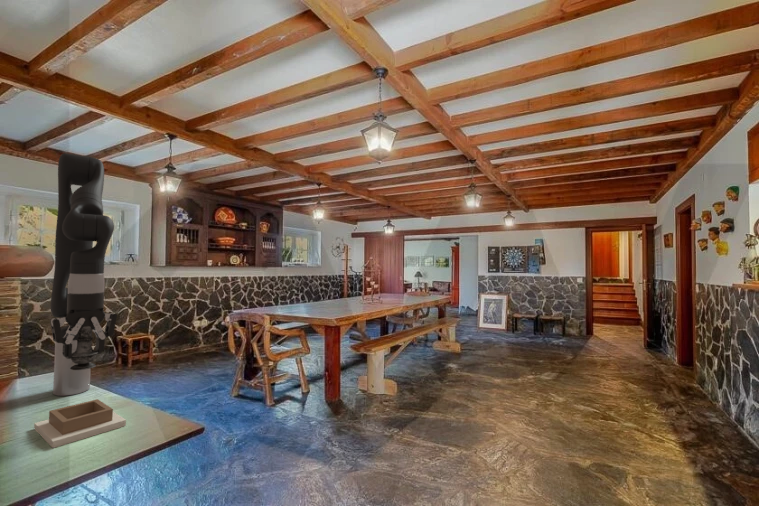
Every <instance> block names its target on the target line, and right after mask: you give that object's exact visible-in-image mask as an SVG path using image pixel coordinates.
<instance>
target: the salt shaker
mask: <svg viewBox="0 0 759 506" xmlns="http://www.w3.org/2000/svg"><path fill="white" fill-rule="evenodd" d="M93 339H94V337H93V330H91V327H90V326H85V327H83V328H82V331H78V338H77V339H76V340H77V348H76V351H75V352H73V353H72V358H71V360H72V362H74V363H75V364H76V365H73V366H72V367H71V368H70V369H71V370H85V369H90V368H91V369H93V368H95V367H96V366H97V364H95V363H94V362H93V361H94V360H95V359H96V357H97V355H98V354H97V353H98V351H96V349H95V350H94V349H93V347H92V344H93V343H92V342H93ZM90 362H91V363H90Z"/></svg>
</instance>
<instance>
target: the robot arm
mask: <svg viewBox="0 0 759 506" xmlns="http://www.w3.org/2000/svg"><path fill="white" fill-rule="evenodd" d="M104 183H105V167H104V164H103V162H102V160H100V159H99V158H96V157H92V156H86V155H79V154H73V153H67V152H65V153H62V154H61V155H60V157H58V164H57V189H58V191H57V192H58V194H57V195H58V196H57V197H58V199H57V218H56V228H55V239H54V240H55V241H54V242H55V243H54V244H55V245H54V248H55V249H54V253H55V254H54V272H53V273H54V274H53V281H52V288H51V296H50V313H51V315H52V317H53V318H51V319H50V320H49V323H50V327H51V334H52V340H53V341H54V365H53V386H52V387H53V388H52V389H53V390H52V394H53V395H54V396H59V397H60V396H61V397H62V396H73V395H78V394H81V393H84V392H87V391H89V390H90V387H91V369H92V368H90V369H85V370H71V369H70V368H71V367H72V366H73V365H76V364H75V363H74V362H72V360H71V358H72V353H73V352H75V351H76V348H77V340H76V339H77V338H78V331H82V328H83V327H85V326H90V327H91V330H92V332H93V333H94V334H95V336H96V338H95V351H98V353H97V354H96V355H100V354H102V352H104V351H105V340H106V338H108V337H112V336H114V331H115V329H116V323H117V318H118V314H117V313H114V312H110V313H106V312H105V311H104V304H105V290H106V286H105V282H106V281H105V274H104V273H105V257H106V252H107V249H108V246H109V243H110V241H111V238H112V236H113V233H114V231H115V224H114V220H113V219H111V217H109V216H108V215H104V205H103V197H102V196H103V193H104V186H105V185H104ZM72 186H80V187H78V188H77V189H75V190H74V192H73V191H72ZM94 242H96V243H95V245H94ZM93 245H94V246H93ZM104 319H105V321H106V325H105V330H104V331H103V328H102V326H101V325H100V324H101V322H102V321H103V320H104ZM64 322H66V323H67V324H68V325H65V326H63V325H64ZM90 363H92V362H90ZM88 384H89V385H88Z"/></svg>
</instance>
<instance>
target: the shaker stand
mask: <svg viewBox="0 0 759 506" xmlns="http://www.w3.org/2000/svg"><path fill="white" fill-rule="evenodd" d="M125 426H126V427H127V419H125V418H124V417H122V416H121V415H119V414H118V413H116V412H115V411H114V409H113V408H112V407H111V406H109V405H107V404H106V403H104V402H103V401H101V400H100V399H97V398H96V399H93V400H89V401H84V402H80V403H76V404H72V405H67V406H64V407H60V408H56V409H51V410H49V412H48V419H45V420H42V421H37V422H34V424H33V429H34V428H35V429H34V431H35V432H37V433H38V434H40V435H41V436H42V437H41V438H42V439H43V440H44V441H45V442H46V443H47V444H48V445H49V446H50V447H51V448H52V449H54V448H57V447H61V446H64V445H67V444H70V443H74V442H76V441H77V442H78V441H80V440H83V439H86V438H90V437H93V436H96V435H99V434H103V433H106V432H109V431H113V430H116V429H119V428H124V427H125ZM40 435H39V436H40Z"/></svg>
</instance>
